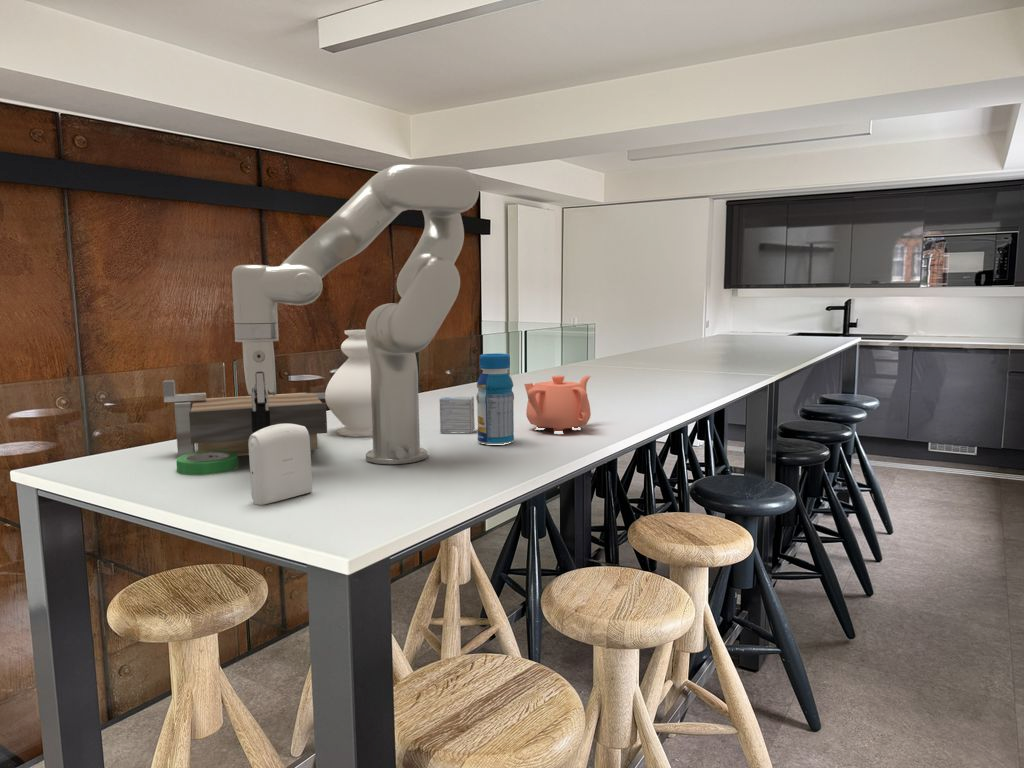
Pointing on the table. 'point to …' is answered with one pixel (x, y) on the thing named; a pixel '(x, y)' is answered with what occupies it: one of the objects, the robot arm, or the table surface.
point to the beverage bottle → (495, 400)
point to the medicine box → (457, 414)
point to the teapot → (558, 403)
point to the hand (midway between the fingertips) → (261, 431)
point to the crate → (233, 446)
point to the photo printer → (279, 463)
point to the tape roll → (207, 462)
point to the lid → (234, 416)
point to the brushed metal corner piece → (172, 397)
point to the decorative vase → (352, 388)
